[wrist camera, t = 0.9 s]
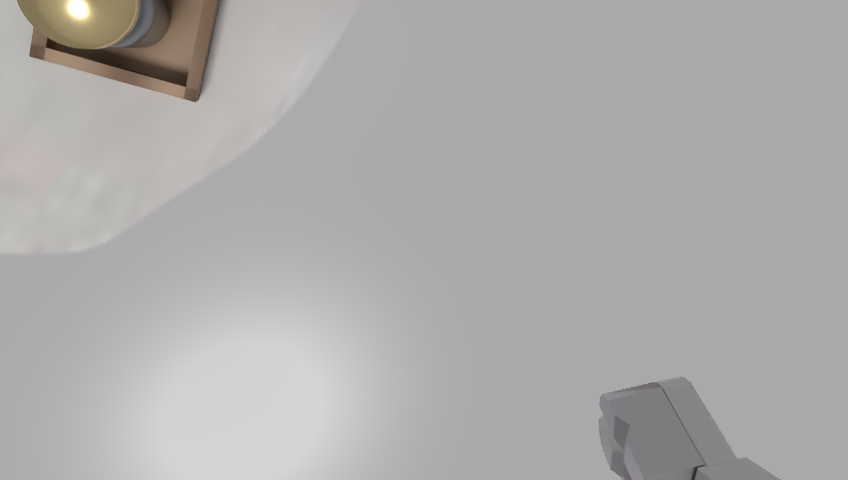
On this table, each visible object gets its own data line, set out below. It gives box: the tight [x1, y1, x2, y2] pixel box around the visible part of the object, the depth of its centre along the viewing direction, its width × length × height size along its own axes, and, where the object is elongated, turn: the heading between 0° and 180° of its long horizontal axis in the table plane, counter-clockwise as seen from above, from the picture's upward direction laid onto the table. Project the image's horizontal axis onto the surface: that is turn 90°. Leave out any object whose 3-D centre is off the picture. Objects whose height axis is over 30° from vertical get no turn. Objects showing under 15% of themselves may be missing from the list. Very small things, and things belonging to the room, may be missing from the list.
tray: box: [29, 0, 220, 102], centre depth 39 cm, size 10×9×2 cm
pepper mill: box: [17, 0, 170, 49], centre depth 33 cm, size 5×5×14 cm
